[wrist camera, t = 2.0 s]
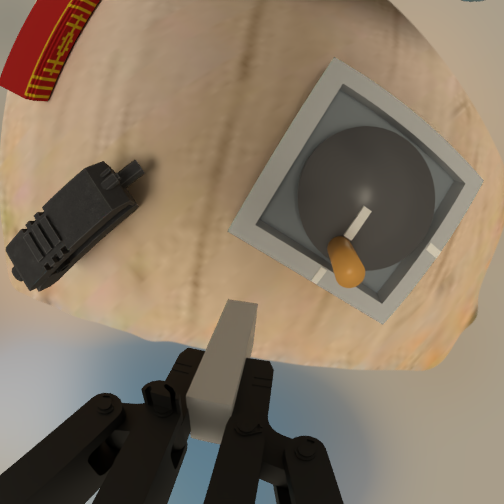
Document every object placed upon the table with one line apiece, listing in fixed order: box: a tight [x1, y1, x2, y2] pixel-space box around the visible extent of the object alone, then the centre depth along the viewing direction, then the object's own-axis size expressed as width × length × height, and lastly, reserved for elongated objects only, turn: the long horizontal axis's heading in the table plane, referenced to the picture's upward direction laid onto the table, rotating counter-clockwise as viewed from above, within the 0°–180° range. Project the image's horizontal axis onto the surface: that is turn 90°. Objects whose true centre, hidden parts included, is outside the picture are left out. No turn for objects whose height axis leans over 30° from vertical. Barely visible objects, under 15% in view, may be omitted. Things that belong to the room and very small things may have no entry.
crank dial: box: [297, 126, 435, 288], centre depth 23 cm, size 14×14×8 cm
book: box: [0, 0, 100, 101], centre depth 24 cm, size 18×13×5 cm
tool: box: [6, 160, 145, 291], centre depth 29 cm, size 6×19×15 cm, turn 126°
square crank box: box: [228, 57, 484, 324], centre depth 27 cm, size 20×20×5 cm
